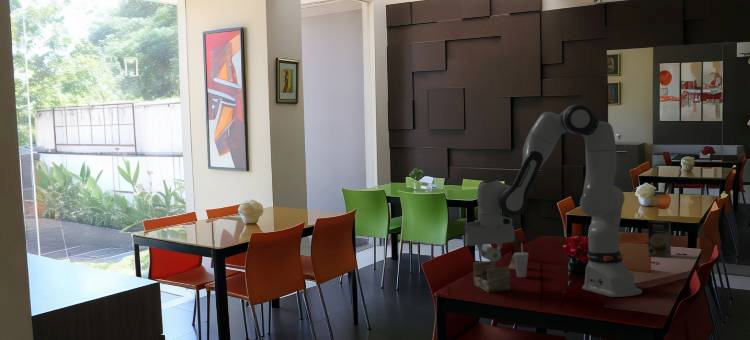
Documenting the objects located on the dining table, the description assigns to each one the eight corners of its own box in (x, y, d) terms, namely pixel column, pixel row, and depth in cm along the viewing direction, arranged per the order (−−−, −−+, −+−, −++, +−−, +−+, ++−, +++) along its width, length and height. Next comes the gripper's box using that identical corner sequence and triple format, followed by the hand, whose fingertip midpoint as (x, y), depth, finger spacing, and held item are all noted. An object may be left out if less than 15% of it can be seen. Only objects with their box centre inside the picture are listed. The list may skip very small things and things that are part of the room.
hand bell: (522, 270, 286) (521, 234, 285) (504, 268, 291) (503, 233, 290) (530, 267, 293) (529, 231, 292) (512, 265, 298) (511, 230, 297)
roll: (501, 261, 256) (501, 248, 255) (489, 262, 254) (489, 249, 254) (490, 256, 265) (490, 244, 264) (479, 257, 264) (479, 245, 263)
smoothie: (529, 278, 272) (528, 244, 271) (513, 278, 273) (512, 245, 272) (529, 274, 278) (528, 242, 277) (513, 274, 280) (512, 242, 279)
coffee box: (647, 256, 303) (647, 222, 302) (650, 253, 309) (649, 219, 307) (669, 257, 298) (668, 222, 297) (671, 255, 304) (670, 220, 302)
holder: (510, 290, 255) (509, 267, 254) (488, 292, 252) (488, 269, 252) (494, 282, 268) (493, 260, 268) (473, 284, 266) (473, 262, 265)
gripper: (468, 223, 253) (469, 258, 254) (516, 219, 258) (516, 254, 259) (461, 221, 259) (462, 255, 260) (508, 217, 264) (509, 251, 265)
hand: (490, 254), depth 259 cm, fingers closed on roll, 5 cm apart
